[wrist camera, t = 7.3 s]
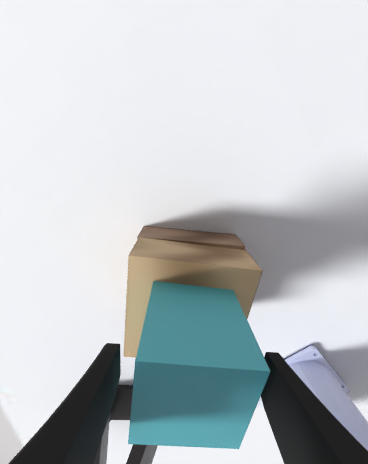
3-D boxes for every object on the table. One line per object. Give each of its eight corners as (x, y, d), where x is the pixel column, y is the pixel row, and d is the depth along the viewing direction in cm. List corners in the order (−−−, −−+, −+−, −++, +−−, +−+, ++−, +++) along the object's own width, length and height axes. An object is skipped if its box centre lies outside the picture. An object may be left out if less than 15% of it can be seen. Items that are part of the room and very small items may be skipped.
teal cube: (233, 289, 12) (270, 371, 7) (217, 349, 13) (238, 448, 9) (153, 280, 11) (135, 361, 7) (146, 343, 13) (128, 443, 8)
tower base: (234, 232, 17) (245, 246, 14) (219, 305, 19) (226, 328, 17) (144, 224, 16) (137, 236, 14) (141, 299, 19) (135, 323, 16)
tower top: (245, 249, 14) (262, 270, 11) (223, 331, 17) (232, 364, 14) (139, 237, 14) (128, 255, 11) (133, 323, 16) (123, 356, 13)
